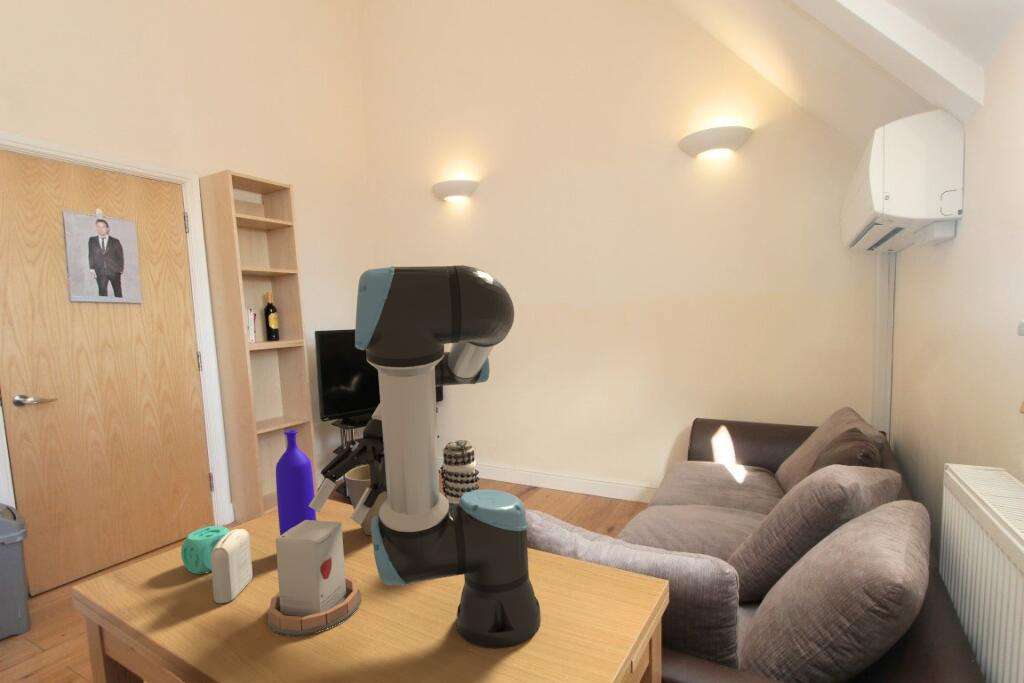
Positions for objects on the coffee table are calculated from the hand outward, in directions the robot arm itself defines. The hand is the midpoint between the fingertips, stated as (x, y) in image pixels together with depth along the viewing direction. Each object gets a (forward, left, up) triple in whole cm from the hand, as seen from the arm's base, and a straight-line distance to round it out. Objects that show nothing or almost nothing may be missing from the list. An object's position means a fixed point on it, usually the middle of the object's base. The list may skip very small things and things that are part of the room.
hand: (333, 515), depth 104 cm
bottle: (+25, -4, -17) cm, 30 cm away
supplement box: (-1, +6, -16) cm, 17 cm away
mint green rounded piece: (+37, +12, -17) cm, 42 cm away
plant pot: (+20, -23, -17) cm, 35 cm away
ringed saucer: (-1, +6, -16) cm, 17 cm away
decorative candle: (-5, -31, -17) cm, 35 cm away
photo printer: (+20, +13, -17) cm, 29 cm away
